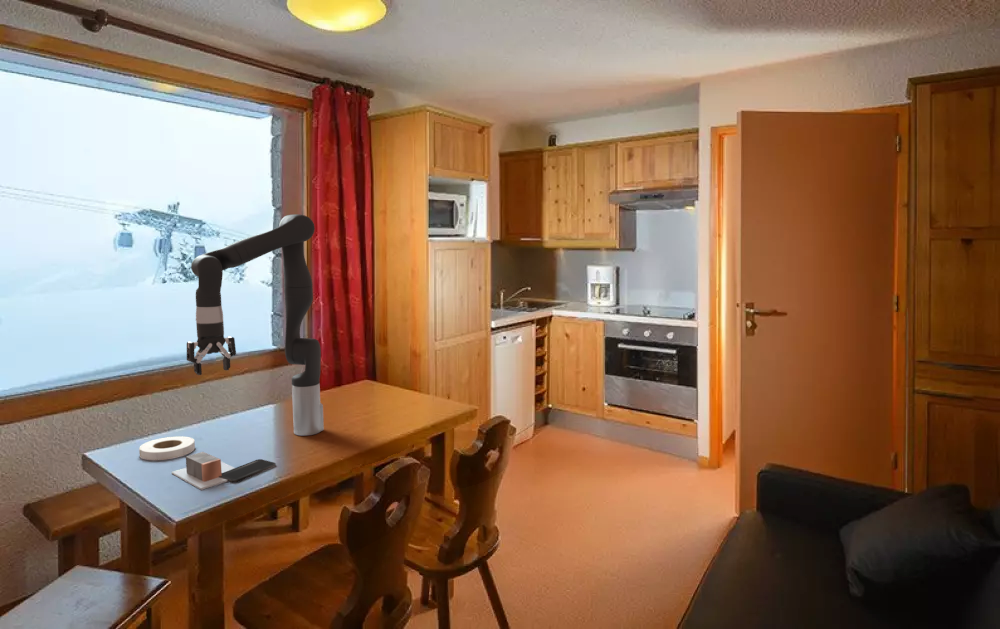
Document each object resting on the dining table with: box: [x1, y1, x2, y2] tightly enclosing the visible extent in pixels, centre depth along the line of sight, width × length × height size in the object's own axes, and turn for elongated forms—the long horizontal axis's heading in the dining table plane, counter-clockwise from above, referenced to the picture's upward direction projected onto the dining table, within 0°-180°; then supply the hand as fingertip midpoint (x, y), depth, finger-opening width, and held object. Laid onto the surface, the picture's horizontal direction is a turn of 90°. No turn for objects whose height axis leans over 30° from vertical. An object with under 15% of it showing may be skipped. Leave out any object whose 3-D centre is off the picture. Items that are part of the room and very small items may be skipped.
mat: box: [171, 461, 235, 491], centre depth 174 cm, size 13×18×1 cm
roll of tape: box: [138, 435, 196, 461], centre depth 192 cm, size 16×15×3 cm
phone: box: [219, 458, 277, 484], centre depth 176 cm, size 8×1×15 cm
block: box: [185, 451, 222, 482], centre depth 172 cm, size 5×5×10 cm
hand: (212, 372), depth 187 cm, fingers open, 8 cm apart
